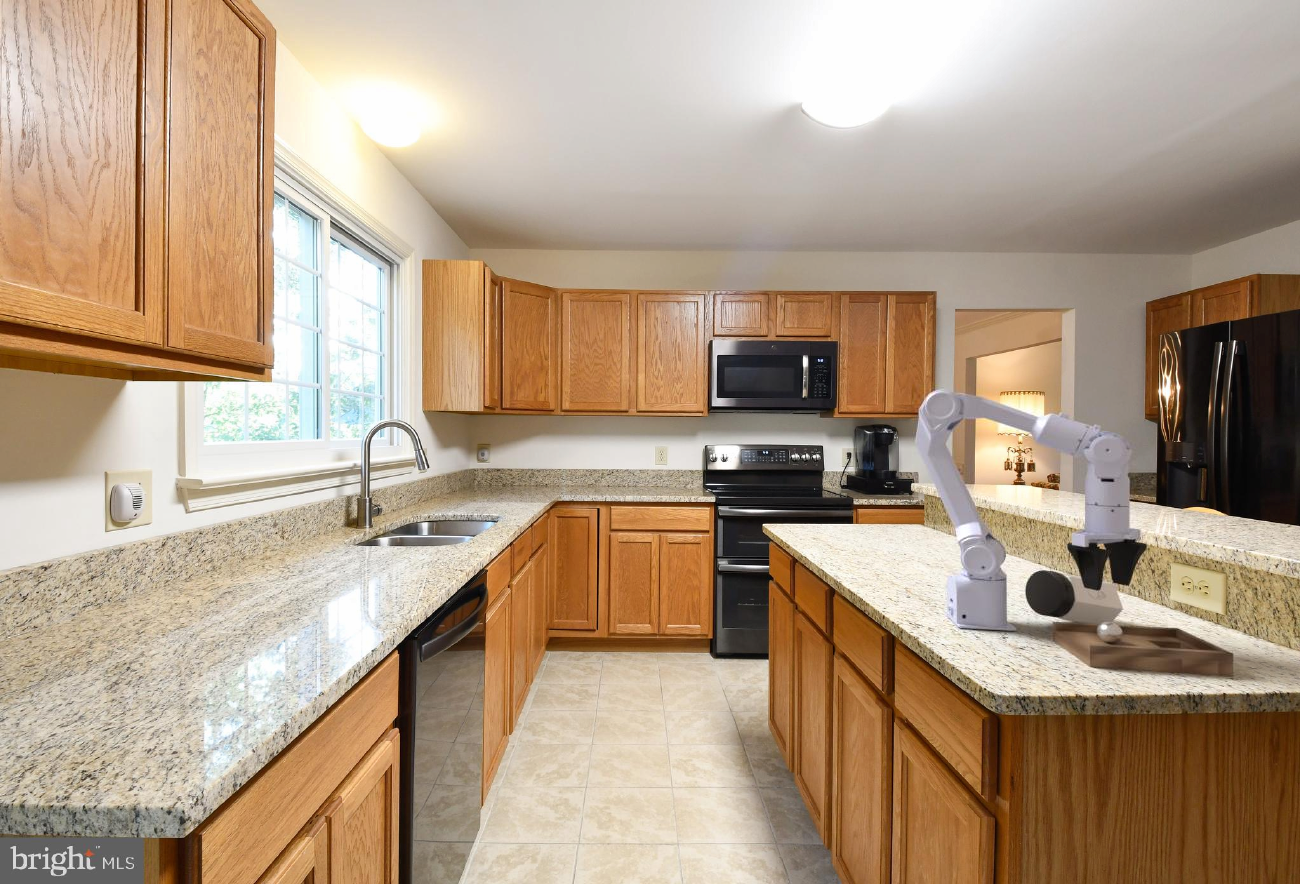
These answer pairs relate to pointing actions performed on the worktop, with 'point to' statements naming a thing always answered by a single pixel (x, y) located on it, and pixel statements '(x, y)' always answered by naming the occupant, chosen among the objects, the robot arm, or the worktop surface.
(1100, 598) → the jar
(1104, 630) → the ball
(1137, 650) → the board
